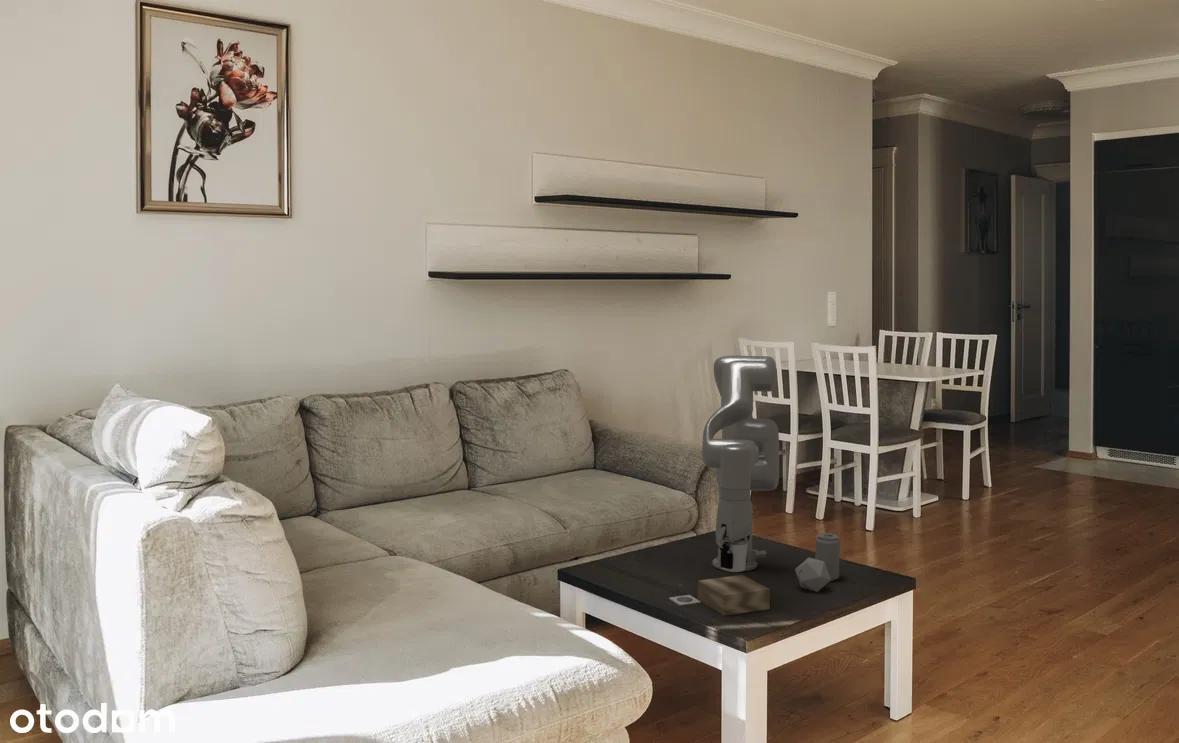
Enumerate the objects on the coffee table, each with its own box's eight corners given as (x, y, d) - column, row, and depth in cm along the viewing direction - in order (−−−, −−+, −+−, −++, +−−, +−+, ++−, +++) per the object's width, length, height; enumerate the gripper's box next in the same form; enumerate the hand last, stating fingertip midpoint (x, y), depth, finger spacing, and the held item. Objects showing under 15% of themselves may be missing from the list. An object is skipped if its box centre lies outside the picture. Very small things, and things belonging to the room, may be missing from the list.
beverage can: (840, 576, 268) (841, 534, 267) (836, 583, 262) (837, 539, 261) (817, 573, 271) (818, 531, 270) (812, 580, 265) (813, 536, 264)
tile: (689, 595, 251) (689, 594, 251) (700, 602, 246) (700, 601, 246) (668, 598, 249) (668, 597, 249) (679, 605, 243) (679, 604, 243)
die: (799, 584, 263) (786, 560, 259) (827, 569, 263) (815, 545, 258) (810, 604, 256) (797, 580, 252) (839, 588, 255) (827, 564, 251)
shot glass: (746, 573, 240) (747, 545, 239) (718, 571, 241) (719, 543, 240) (748, 566, 246) (748, 538, 246) (720, 564, 248) (721, 537, 247)
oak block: (741, 593, 253) (742, 574, 253) (769, 608, 241) (770, 589, 241) (697, 599, 248) (698, 580, 248) (724, 615, 236) (724, 595, 236)
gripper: (739, 486, 251) (738, 555, 253) (703, 497, 238) (702, 569, 239) (765, 490, 247) (764, 560, 248) (729, 502, 233) (728, 575, 235)
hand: (733, 564), depth 244 cm, fingers closed on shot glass, 6 cm apart
